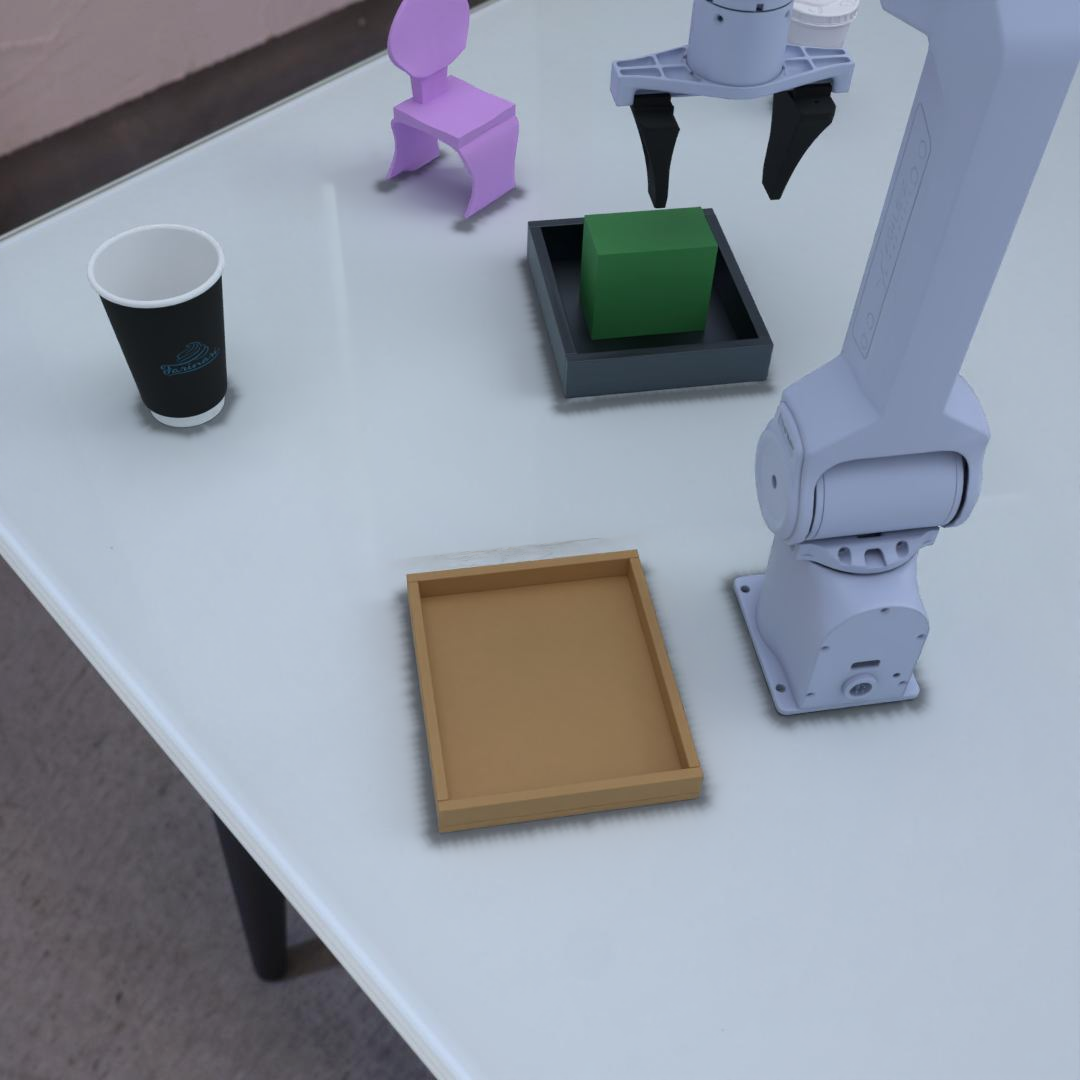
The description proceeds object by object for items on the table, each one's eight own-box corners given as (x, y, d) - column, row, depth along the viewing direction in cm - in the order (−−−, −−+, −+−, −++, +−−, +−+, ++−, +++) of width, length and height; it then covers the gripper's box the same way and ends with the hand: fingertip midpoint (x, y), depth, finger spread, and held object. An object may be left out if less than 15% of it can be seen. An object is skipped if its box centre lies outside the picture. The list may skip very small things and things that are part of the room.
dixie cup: (165, 350, 88) (132, 210, 80) (271, 379, 87) (248, 239, 78) (100, 425, 83) (58, 284, 75) (211, 457, 82) (181, 317, 73)
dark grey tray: (764, 388, 88) (774, 344, 85) (564, 407, 86) (567, 362, 83) (706, 251, 98) (712, 207, 95) (526, 264, 96) (527, 220, 93)
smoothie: (749, 93, 114) (776, -71, 103) (816, 83, 115) (849, -79, 105) (780, 131, 109) (811, -36, 99) (849, 121, 111) (886, -44, 100)
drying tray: (698, 798, 66) (703, 776, 65) (439, 833, 65) (438, 811, 63) (634, 572, 76) (637, 548, 75) (407, 598, 75) (406, 573, 73)
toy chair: (459, 236, 98) (455, 46, 87) (373, 191, 102) (360, 3, 90) (529, 189, 103) (534, 2, 91) (445, 148, 106) (440, -36, 95)
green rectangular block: (704, 330, 90) (718, 245, 85) (591, 340, 89) (597, 254, 84) (689, 290, 93) (701, 206, 88) (578, 299, 92) (584, 214, 87)
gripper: (843, -48, 78) (802, 154, 88) (606, -37, 76) (592, 168, 86) (884, 8, 74) (836, 214, 84) (632, 21, 72) (614, 230, 82)
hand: (714, 195), depth 85 cm, fingers open, 7 cm apart
